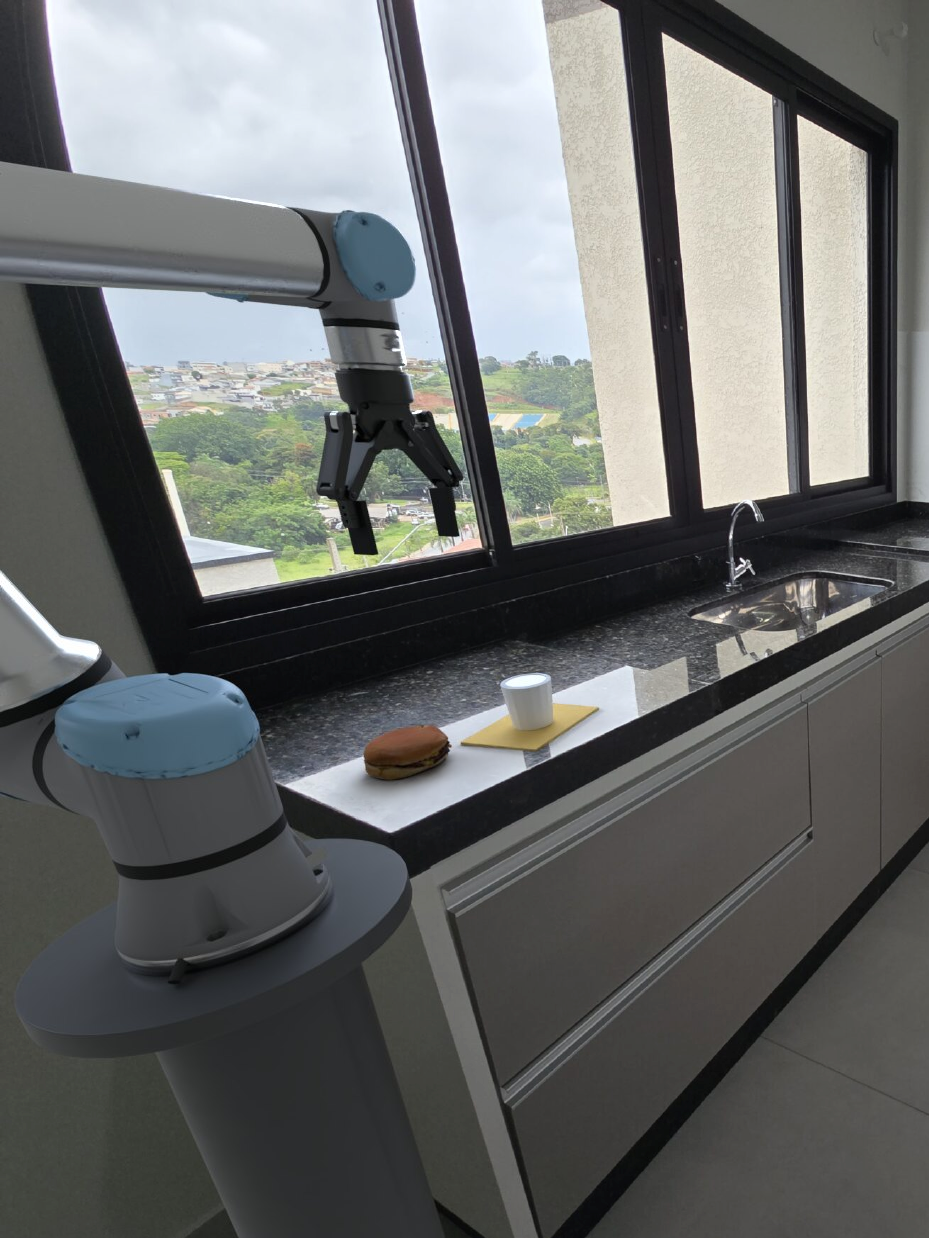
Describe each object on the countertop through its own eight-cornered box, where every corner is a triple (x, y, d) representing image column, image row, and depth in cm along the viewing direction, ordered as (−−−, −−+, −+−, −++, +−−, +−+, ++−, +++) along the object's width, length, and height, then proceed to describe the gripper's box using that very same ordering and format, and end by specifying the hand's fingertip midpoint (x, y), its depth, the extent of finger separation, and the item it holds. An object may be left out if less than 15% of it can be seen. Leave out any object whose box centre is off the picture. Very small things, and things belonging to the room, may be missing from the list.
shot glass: (525, 736, 109) (516, 691, 106) (499, 725, 112) (490, 682, 110) (567, 720, 114) (560, 677, 112) (541, 710, 118) (534, 669, 115)
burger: (353, 783, 96) (344, 750, 94) (388, 752, 104) (380, 722, 103) (436, 778, 97) (429, 746, 95) (464, 748, 106) (457, 718, 104)
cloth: (536, 752, 105) (535, 749, 105) (460, 744, 107) (460, 742, 107) (599, 709, 120) (598, 706, 120) (531, 703, 122) (531, 701, 121)
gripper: (302, 363, 77) (352, 565, 85) (473, 373, 100) (501, 530, 108) (241, 363, 78) (296, 561, 86) (424, 372, 102) (455, 528, 109)
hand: (410, 545), depth 97 cm, fingers open, 13 cm apart
